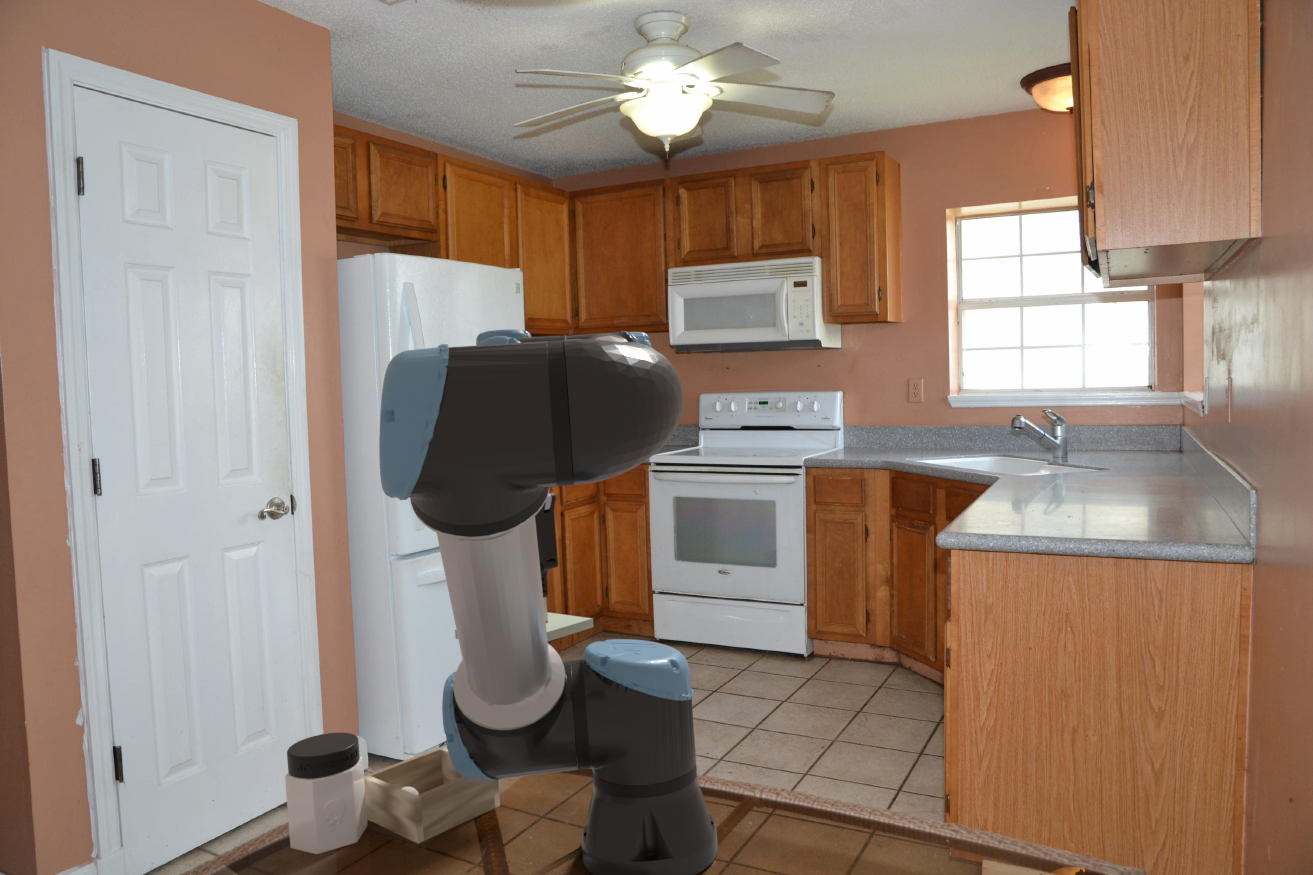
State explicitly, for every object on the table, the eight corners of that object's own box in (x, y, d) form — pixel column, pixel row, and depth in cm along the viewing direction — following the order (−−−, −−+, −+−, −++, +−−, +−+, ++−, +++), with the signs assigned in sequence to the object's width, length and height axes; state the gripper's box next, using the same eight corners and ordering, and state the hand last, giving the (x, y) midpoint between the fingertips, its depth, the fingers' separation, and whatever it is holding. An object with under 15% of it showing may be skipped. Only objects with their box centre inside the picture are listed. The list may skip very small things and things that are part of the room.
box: (500, 811, 113) (497, 764, 113) (418, 849, 104) (414, 799, 104) (445, 789, 121) (442, 746, 121) (364, 823, 112) (361, 776, 112)
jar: (297, 867, 102) (289, 763, 101) (284, 841, 109) (277, 744, 108) (377, 843, 107) (369, 743, 106) (359, 819, 113) (352, 726, 113)
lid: (593, 627, 120) (588, 559, 120) (519, 650, 110) (514, 576, 110) (529, 618, 129) (525, 554, 128) (455, 638, 119) (450, 570, 119)
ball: (425, 810, 113) (423, 785, 113) (403, 820, 110) (401, 794, 110) (411, 804, 115) (409, 780, 115) (389, 814, 113) (387, 789, 112)
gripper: (579, 442, 116) (591, 620, 116) (491, 447, 128) (502, 608, 128) (535, 446, 110) (548, 633, 111) (447, 451, 122) (459, 619, 123)
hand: (523, 619), depth 119 cm, fingers closed on lid, 5 cm apart
